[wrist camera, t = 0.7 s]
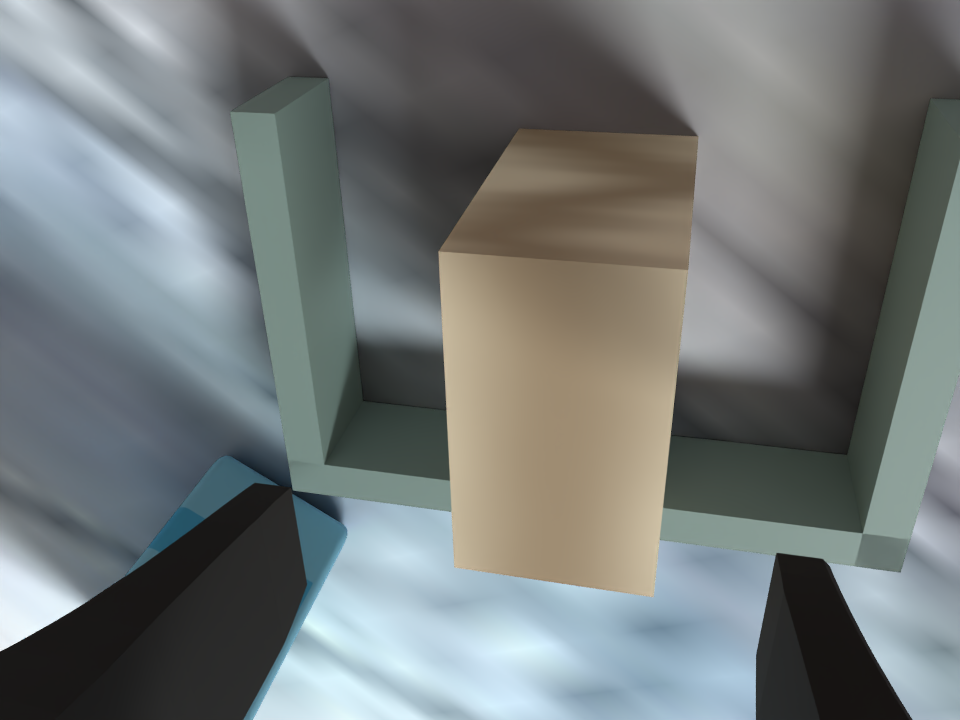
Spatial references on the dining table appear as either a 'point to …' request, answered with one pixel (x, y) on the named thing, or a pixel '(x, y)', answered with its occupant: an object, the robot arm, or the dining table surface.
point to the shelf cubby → (691, 461)
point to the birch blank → (566, 355)
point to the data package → (314, 527)
